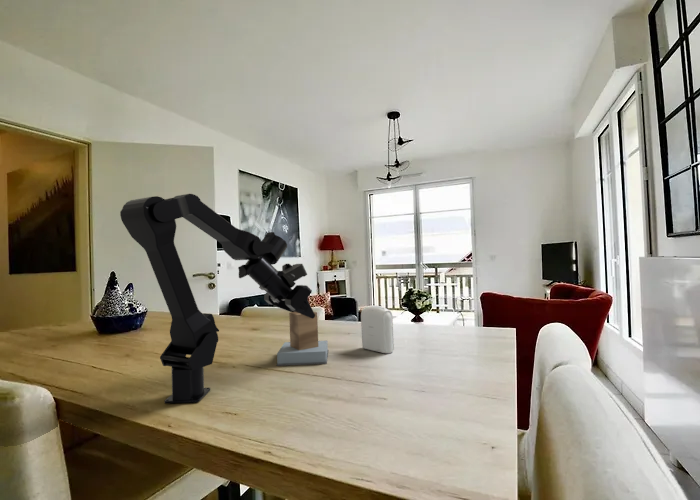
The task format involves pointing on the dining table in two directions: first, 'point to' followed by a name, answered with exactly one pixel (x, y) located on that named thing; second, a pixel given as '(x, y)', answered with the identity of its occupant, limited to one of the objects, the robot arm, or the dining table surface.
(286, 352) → the plinth
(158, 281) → the robot arm
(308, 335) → the walnut block
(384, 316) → the photo printer
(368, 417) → the dining table surface
